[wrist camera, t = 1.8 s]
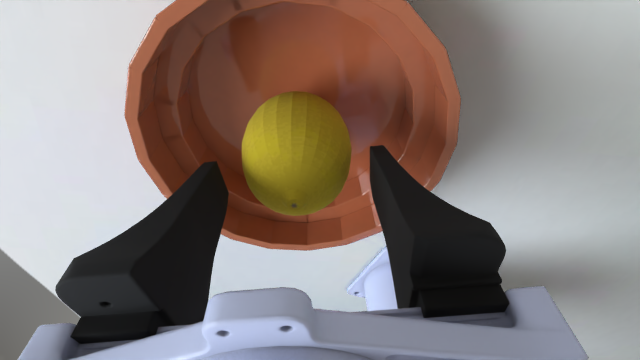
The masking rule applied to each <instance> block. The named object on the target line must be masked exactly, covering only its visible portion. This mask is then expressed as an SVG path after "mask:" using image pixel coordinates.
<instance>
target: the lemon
mask: <svg viewBox="0 0 640 360" xmlns="http://www.w3.org/2000/svg"><path fill="white" fill-rule="evenodd" d="M350 163H351V142H350V137H349V133H348V129H347V126H346V125H345V123H344V121H343V119H342V117H341V115H340V114H339V112H338V111H337V110H336V109H335V108H334V107H333V106H332V105H331V104H330V103H329V102H327V101H326V100H324V99H322V98H321V97H319V96H318V95H315V94H311V93H308V92H302V91H291V92H285V93H281V94H279V95H277V96H274V97H272V98H270V99H268V100H267V101H266V102H265V103H264V104H262V105H261V106H260V107H259V108H258V109H257V111H256V112H255V113H254V115H253V116H252V118H251V119H250V121H249V122H248V124H247V127H246V131H245V134H244V137H243V140H242V168H243V172H244V175H245V178H246V181H247V184H248V186H249V188H250V190H251V191H252V193H253V194H254V196H255V197H256V198H257V199H258V200H259V201H260V202H261V203H262V204H263V205H265V206H266V207H268V208H270V209H271V210H273V211H275V212H278V213H281V214H284V215H292V216H300V215H307V214H312V213H315V212H317V211H319V210H321V209H323V208H325V207H326V206H327V205H329V204H330V203H332V202H333V201H334V199H335V198H336V197H337V196H338V195H339V193H340V192H341V191H342V189H343V187H344V184H345V182H346V180H347V177H348V174H349V170H350Z"/></svg>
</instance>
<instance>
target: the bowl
mask: <svg viewBox="0 0 640 360" xmlns="http://www.w3.org/2000/svg"><path fill="white" fill-rule="evenodd" d="M291 91H302V92H308V93H311V94H315V95H318V96H319V97H321V98H322V99H324V100H326V101H327V102H329V103H330V104H331V105H332V106H333V107H334V108H335V109H336V110H337V111H338V112H339V114H340V115H341V117H342V119H343V121H344V123H345V125H346V126H347V129H348V133H349V137H350V142H351V163H350V170H349V174H348V177H347V180H346V182H345V184H344V187H343V189H342V191H341V192H340V193H339V195H338V196H337V197H336V198H335V199H334V201H333V202H332V203H330V204H329V205H327V206H326V207H325V208H323V209H321V210H319V211H317V212H315V213H312V214H307V215H300V216H292V215H284V214H281V213H278V212H275V211H273V210H271V209H270V208H268V207H266V206H265V205H263V204H262V203H261V202H260V201H259V200H258V199H257V198H256V197H255V196H254V194H253V193H252V191H251V190H250V188H249V186H248V184H247V181H246V178H245V175H244V172H243V168H242V140H243V137H244V134H245V131H246V127H247V124H248V122H249V121H250V119H251V118H252V116H253V115H254V113H255V112H256V111H257V109H258V108H259V107H260V106H261V105H262V104H264V103H265V102H266V101H267V100H268V99H270V98H272V97H274V96H277V95H279V94H281V93H285V92H291ZM460 105H461V96H460V92H459V89H458V86H457V82H456V79H455V76H454V73H453V69H452V66H451V63H450V59H449V56H448V53H447V50H446V48H445V46H444V45H443V44H442V42H441V41H440V40H439V39H438V38H437V36H436V35H435V34H434V33H433V31H432V30H431V29H430V28H429V27H428V25H427V24H426V23H425V22H424V20H423V19H422V18H421V17H420V16H419V14H418V13H417V12H416V11H415V9H414V8H413V7H412V6H411V5H410V3H409V2H408V1H407V0H176V1H174V2H173V3H172V4H170V5H169V6H168V7H167V8H165V9H164V10H163V11H161V12H160V13H159V14H157V15H156V17H155V18H154V20H153V21H152V23H151V25H150V27H149V29H148V31H147V32H146V34H145V36H144V38H143V40H142V42H141V43H140V45H139V47H138V49H137V51H136V53H135V54H134V56H133V58H132V60H131V62H130V64H129V67H128V77H127V90H126V103H125V119H126V122H127V126H128V129H129V132H130V135H131V139H132V142H133V145H134V148H135V152H136V155H137V158H138V160H139V162H140V163H141V165H142V166H143V168H144V169H145V170H146V172H147V173H148V175H149V176H150V177H151V179H152V180H153V182H154V183H155V184H156V186H157V187H158V189H159V190H160V191H161V193H162V194H163V195H164V197H166V198H167V199H168V198H169V197H170V196H171V195H172V194H173V193H174V192H175V191H176V190H178V189H179V187H180V186H181V185H182V184H183V183H184V182H185V181H186V180H187V179H188V178H189V177H190V176H191V175H192V174H193V173H194V172H195V171H196V170H197V169H198V168H199V167H200V166H201V165H202V164H203V163H204V162H212V161H217V163H218V166H219V168H220V171H221V174H222V176H223V179H224V181H225V184H226V187H227V189H228V192H229V196H228V205H227V212H226V216H225V219H224V223H223V227H222V230H221V234H222V235H224V236H226V237H228V238H230V239H233V240H236V241H240V242H244V243H248V244H252V245H256V246H260V247H264V248H268V249H284V250H305V251H307V250H316V249H322V248H329V247H335V246H342V245H347V244H350V243H352V242H355V241H358V240H361V239H363V238H366V237H369V236H371V235H374V234H377V233H379V232H381V231H383V230H382V227H381V224H380V221H379V217H378V214H377V211H376V207H375V204H374V201H373V197H372V191H371V185H370V146H378V145H384V146H385V147H386V149H387V150H388V151H389V152H390V154H391V155H392V156H393V157H394V158H395V160H396V161H397V162H398V163H399V164H400V165H401V166H402V167H403V168H404V169H405V170H406V171H407V172H408V173H409V174H410V175H411V176H412V177H413V178H414V179H415V180H416V181H417V182H419V183H420V184H421V185H422V186H423V187H425V188H426V189H427V190H429V191H431V190H432V189H433V188H434V187H435V186H436V185H437V184H438V183H439V181H440V180H441V177H442V175H443V173H444V171H445V169H446V167H447V164H448V162H449V160H450V158H451V156H452V154H453V152H454V149H455V147H456V145H457V139H458V128H459V116H460Z"/></svg>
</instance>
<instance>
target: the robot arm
mask: <svg viewBox="0 0 640 360" xmlns="http://www.w3.org/2000/svg"><path fill="white" fill-rule="evenodd" d="M370 185H371V191H372V197H373V201H374V204H375V207H376V211H377V214H378V217H379V221H380V224H381V227H382V230H383V234H384V237H385V241H386V245H387V247H385V248H384V249H383V250H382V251H381V252H380V253H379V254H378V255H377V256H376V258H375V259H374V260H373V261H372V262H371V263H370V264H369V265H368V266H367V267H366V268H365V270H364V271H363V272H362V273H361V274H360V275H359V276H358V277H357V278H356V279H355V280H354V282H353V283H352V284H351V285H350V286H349V287H348V288H347V293H348V294H350V295H355V296H359V297H364V298H366V304H367V311H362V312H342V311H332V310H322V309H313V307H312V302H311V299H310V298H309V297H308V295H307V294H306V293H305V292H303V291H301V290H298V289H296V288H286V287H280V288H268V289H255V290H243V291H230V292H224V293H220V294H216V295H215V296H213V297H212V298H211V299H210V300H209V301H208V297H209V289H210V281H211V274H212V268H213V261H214V256H215V252H216V248H217V244H218V241H219V237H220V234H221V230H222V227H223V223H224V219H225V216H226V212H227V205H228V196H229V192H228V189H227V187H226V184H225V181H224V179H223V176H222V174H221V171H220V168H219V166H218V163H217V161H212V162H204V163H203V164H202V165H201V166H200V167H199V168H198V169H197V170H196V171H195V172H194V173H193V174H192V175H191V176H190V177H189V178H188V179H187V180H186V181H185V182H184V183H183V184H182V185H181V186H180V187H179V189H178V190H176V191H175V192H174V193H173V194H172V195H171V196H170V197H169V198H168V199H167V200H166V201H165V202H164V203H163V204H161V205H160V206H159V207H158V208H157V209H155V210H154V211H153V212H152V213H150V214H149V215H148V216H147V217H145V218H144V219H143V220H141V221H140V222H138V223H137V224H135V225H134V226H132V227H131V228H129V229H128V230H126V231H125V232H123V233H122V234H120V235H118V236H117V237H115V238H113V239H111V240H110V241H108V242H106V243H104V244H102V245H101V246H99V247H97V248H95V249H93V250H91V251H89V252H86V253H84V254H82V255H80V256H78V257H76V258H74V259H73V261H72V262H71V264H70V265H69V267H68V268H67V270H66V271H65V273H64V274H63V276H62V277H61V279H60V281H59V282H58V284H57V285H56V293H57V295H58V297H59V298H60V299H61V300H62V301H63V302H64V303H65V304H66V305H67V306H69V307H70V308H71V309H72V310H73V311H75V312H76V313H77V314H78V315H79V316H81V318H80V320H79V322H78V324H77V325H75V324H71V323H60V324H48V325H41V326H39V327H38V328H37V330H36V332H35V333H34V335H33V336H32V338H31V339H30V341H29V343H28V344H27V346H26V347H25V349H24V351H23V352H22V354H21V355H20V357H19V358H18V360H588V358H589V357H588V356H587V354H586V352H585V351H584V349H583V348H582V346H581V344H580V343H579V341H578V339H577V338H576V336H575V335H574V333H573V331H572V330H571V328H570V327H569V325H568V323H567V322H566V320H565V318H564V317H563V315H562V314H561V312H560V310H559V309H558V307H557V306H556V304H555V302H554V301H553V299H552V297H551V296H550V294H549V293H548V291H547V289H546V288H545V287H543V286H536V287H523V288H513V289H509V290H507V291H506V292H505V293H504V291H503V289H502V287H501V285H500V284H501V283H502V279H501V277H500V275H499V273H498V270H499V267H500V265H501V263H502V261H503V259H504V256H505V252H506V248H505V245H504V243H503V241H502V240H501V238H500V236H499V235H498V233H497V232H496V230H495V229H494V228H493V227H492V225H491V224H490V223H489V222H487V221H485V220H482V219H480V218H477V217H475V216H472V215H470V214H468V213H466V212H464V211H462V210H460V209H458V208H456V207H454V206H452V205H450V204H449V203H447V202H445V201H444V200H442V199H440V198H439V197H437V196H436V195H434V194H433V193H431V192H430V191H429V190H427V189H426V188H425V187H423V186H422V185H421V184H420V183H419V182H417V181H416V180H415V179H414V178H413V177H412V176H411V175H410V174H409V173H408V172H407V171H406V170H405V169H404V168H403V167H402V166H401V165H400V164H399V163H398V162H397V161H396V160H395V158H394V157H393V156H392V155H391V154H390V152H389V151H388V150H387V149H386V147H385V146H384V145H378V146H370Z"/></svg>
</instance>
